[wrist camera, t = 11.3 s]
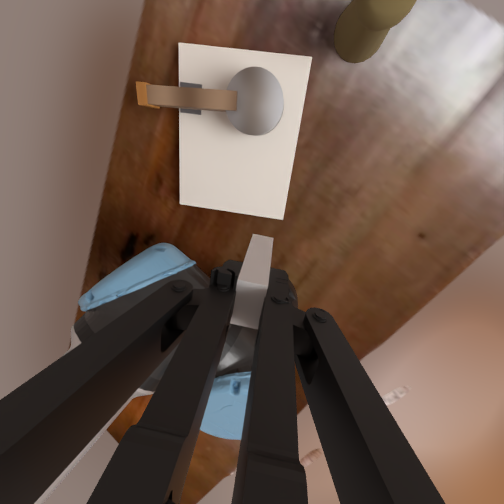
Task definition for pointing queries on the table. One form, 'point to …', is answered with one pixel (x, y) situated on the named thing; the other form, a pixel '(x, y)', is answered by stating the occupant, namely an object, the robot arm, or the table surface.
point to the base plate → (238, 134)
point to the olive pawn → (367, 26)
